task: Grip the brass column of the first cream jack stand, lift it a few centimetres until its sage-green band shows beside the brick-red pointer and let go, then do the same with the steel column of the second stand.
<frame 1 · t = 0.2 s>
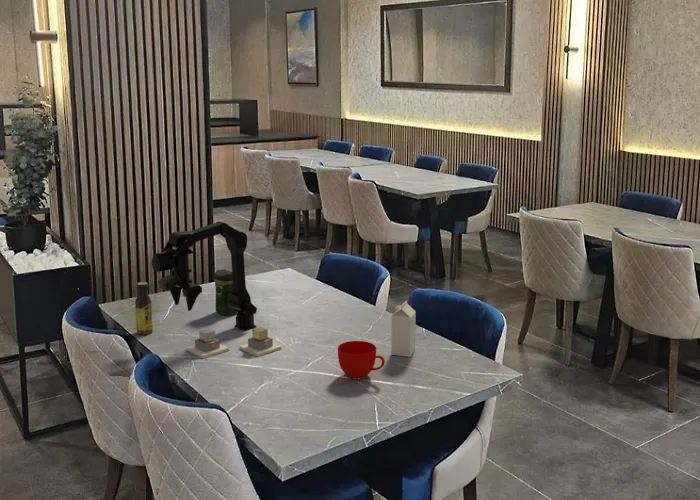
hand: (183, 307, 275), 15 cm above the table, tool pointing down, fingers open, 9 cm apart
column a: (207, 338, 272), point 4 cm above the table, slide at 0.0 cm
stand b: (260, 348, 275), on the table
sauce bottle: (145, 332, 291), on the table
column b: (260, 337, 274), point 4 cm above the table, slide at 0.0 cm
milk carton: (403, 353, 271), on the table
coffee jar: (226, 313, 315), on the table
ceramic cup: (361, 377, 250), on the table
stand a: (207, 350, 273), on the table
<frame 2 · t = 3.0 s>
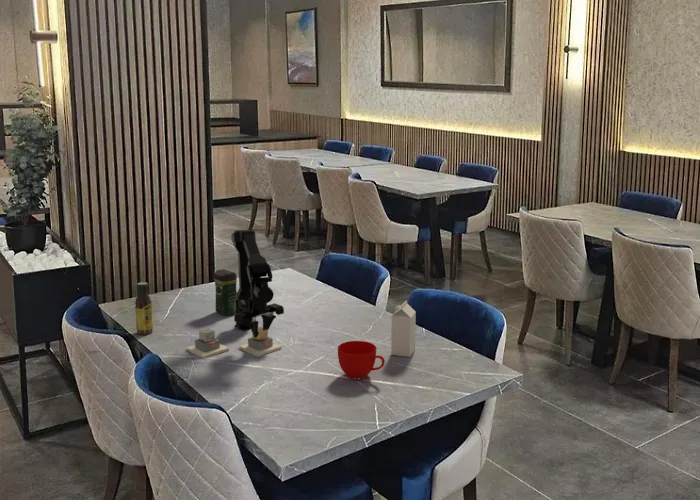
hand: (260, 335, 273), 5 cm above the table, tool pointing down, fingers closed on column b, 4 cm apart
column b: (260, 337, 274), point 4 cm above the table, slide at 0.0 cm, touching gripper
everything else where it was.
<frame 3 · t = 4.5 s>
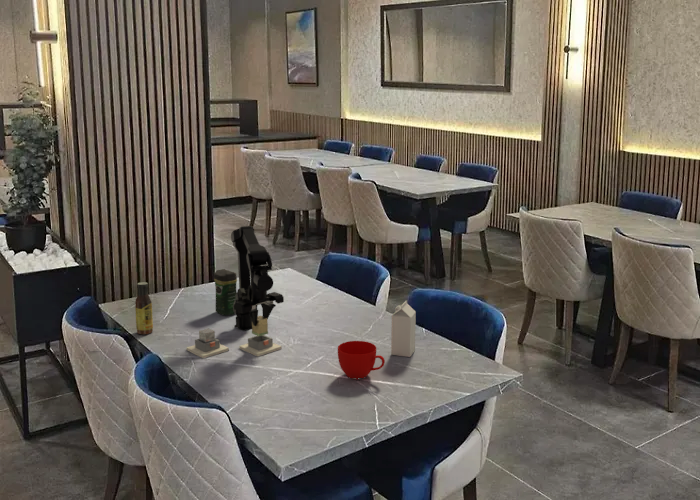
hand: (259, 324, 272), 9 cm above the table, tool pointing down, fingers closed on column b, 4 cm apart
column b: (259, 325, 273), point 9 cm above the table, slide at 4.4 cm, touching gripper
everything else where it was.
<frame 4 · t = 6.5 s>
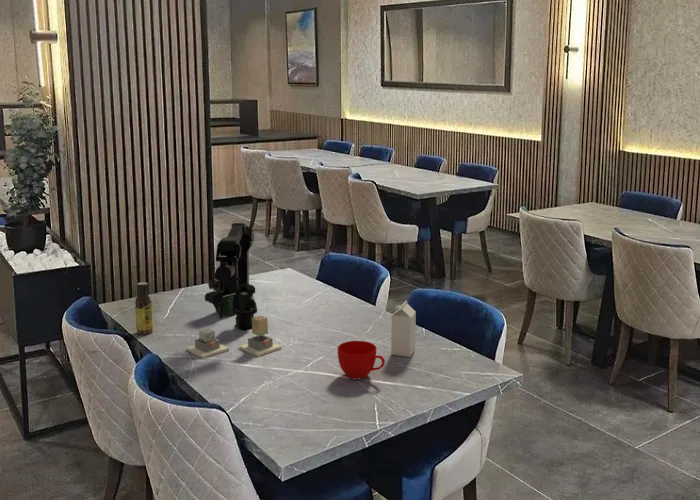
hand: (231, 315, 270), 13 cm above the table, tool pointing down, fingers open, 9 cm apart
column b: (259, 325, 273), point 9 cm above the table, slide at 4.4 cm
everything else where it was.
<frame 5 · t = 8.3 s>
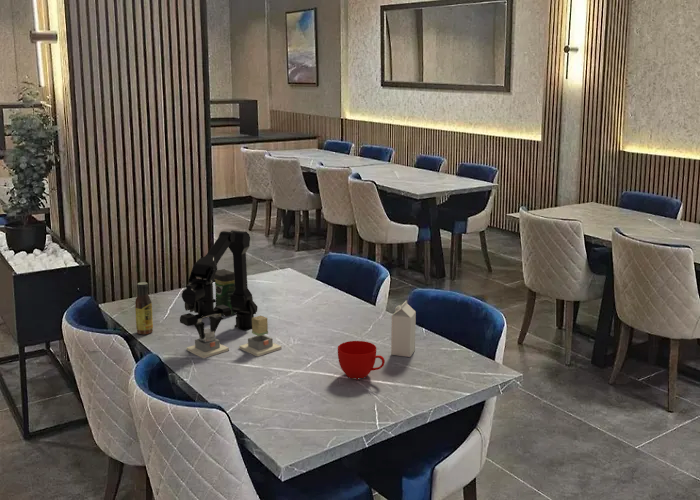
hand: (207, 337, 272), 5 cm above the table, tool pointing down, fingers closed on column a, 4 cm apart
column a: (207, 338, 272), point 4 cm above the table, slide at 0.0 cm, touching gripper
everything else where it was.
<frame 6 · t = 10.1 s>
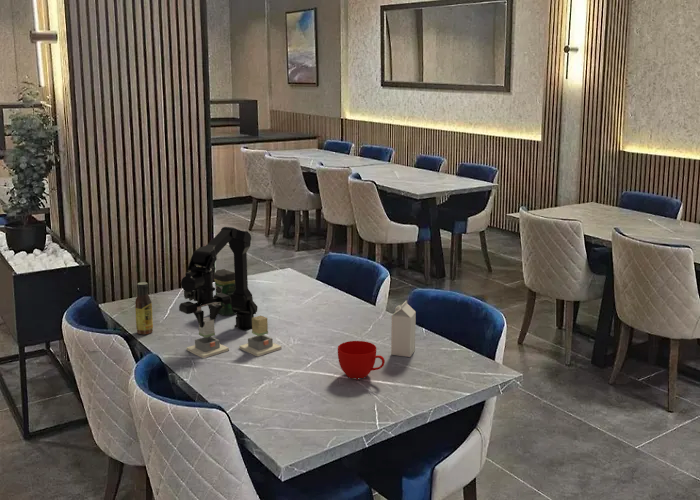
hand: (206, 325, 271), 9 cm above the table, tool pointing down, fingers closed on column a, 4 cm apart
column a: (206, 327, 271), point 9 cm above the table, slide at 4.4 cm, touching gripper
everything else where it was.
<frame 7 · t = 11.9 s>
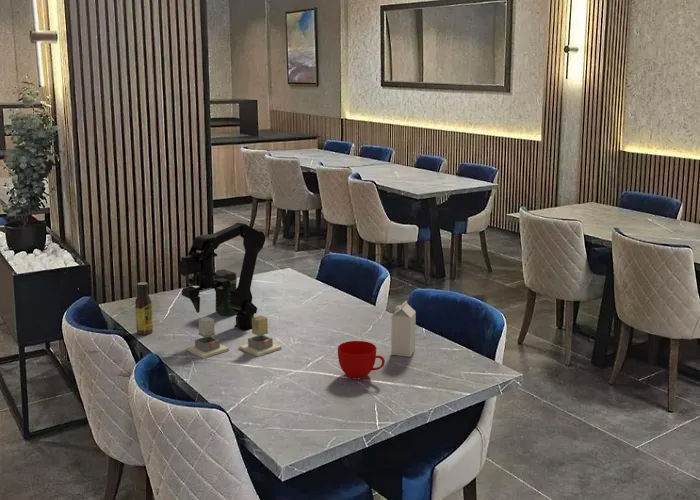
hand: (208, 309, 281), 12 cm above the table, tool pointing down, fingers open, 9 cm apart
column a: (206, 327, 271), point 9 cm above the table, slide at 4.4 cm
everything else where it was.
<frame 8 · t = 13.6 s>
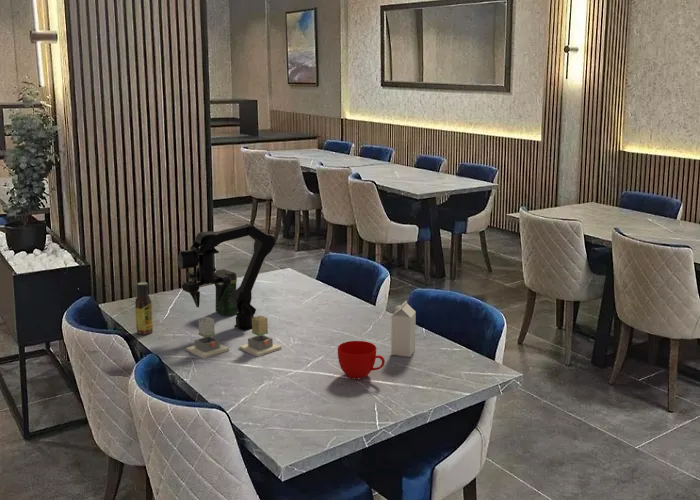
hand: (207, 304, 287), 12 cm above the table, tool pointing down, fingers open, 9 cm apart
nothing on the table moved.
at the end: column b slide at 4.4 cm; column a slide at 4.4 cm; the gripper is holding nothing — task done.
